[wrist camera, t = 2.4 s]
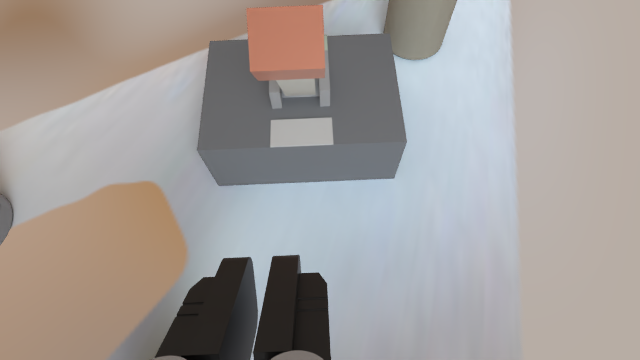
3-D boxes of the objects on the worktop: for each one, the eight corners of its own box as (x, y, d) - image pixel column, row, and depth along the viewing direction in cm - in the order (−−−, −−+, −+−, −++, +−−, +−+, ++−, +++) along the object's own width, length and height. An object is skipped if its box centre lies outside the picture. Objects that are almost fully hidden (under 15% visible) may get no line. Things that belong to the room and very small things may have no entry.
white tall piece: (278, 104, 39) (249, 71, 23) (276, 67, 38) (246, 8, 22) (323, 102, 39) (325, 68, 23) (321, 65, 38) (322, 4, 22)
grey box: (218, 185, 44) (188, 136, 35) (227, 87, 50) (203, 23, 41) (394, 178, 44) (411, 127, 35) (381, 81, 50) (393, 15, 41)
